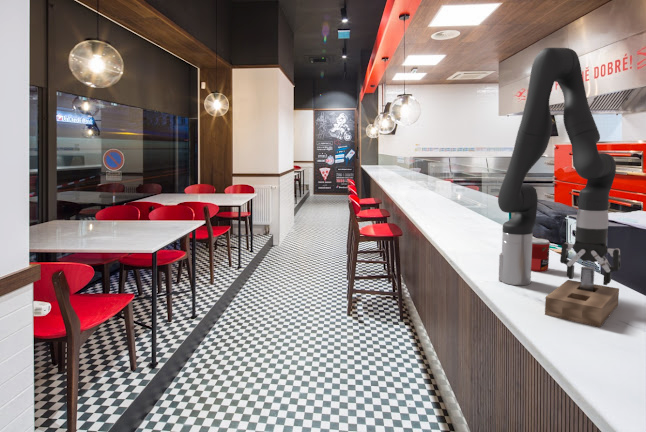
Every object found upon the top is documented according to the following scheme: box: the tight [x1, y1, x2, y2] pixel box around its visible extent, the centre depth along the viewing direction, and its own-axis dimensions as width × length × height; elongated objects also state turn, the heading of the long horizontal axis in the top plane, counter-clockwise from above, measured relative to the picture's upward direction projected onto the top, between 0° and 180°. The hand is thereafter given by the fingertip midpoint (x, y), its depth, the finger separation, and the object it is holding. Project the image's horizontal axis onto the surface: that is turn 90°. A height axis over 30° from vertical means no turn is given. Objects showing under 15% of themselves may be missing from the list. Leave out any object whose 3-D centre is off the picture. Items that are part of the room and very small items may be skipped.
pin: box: [579, 266, 595, 292], centre depth 120 cm, size 3×3×10 cm
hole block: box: [544, 279, 620, 328], centre depth 117 cm, size 13×20×5 cm, turn 135°
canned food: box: [531, 237, 551, 273], centre depth 157 cm, size 8×8×11 cm
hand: (588, 281), depth 120 cm, fingers open, 8 cm apart
